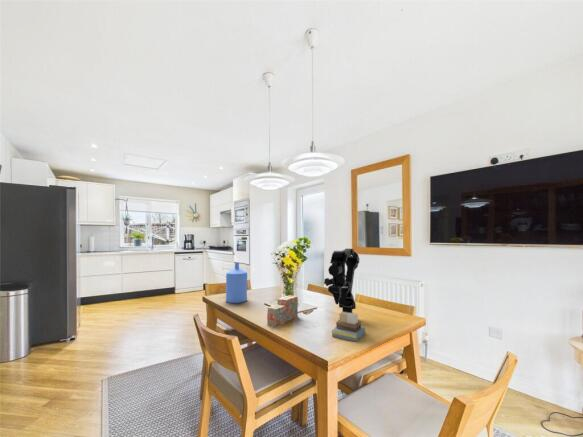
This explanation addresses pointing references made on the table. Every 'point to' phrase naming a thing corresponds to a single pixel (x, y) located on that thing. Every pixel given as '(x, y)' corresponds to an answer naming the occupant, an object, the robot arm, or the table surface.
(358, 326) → the pallet
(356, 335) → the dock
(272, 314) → the stack of blocks
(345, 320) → the tan carton
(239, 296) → the water jug
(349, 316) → the off-white carton
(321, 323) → the table surface
